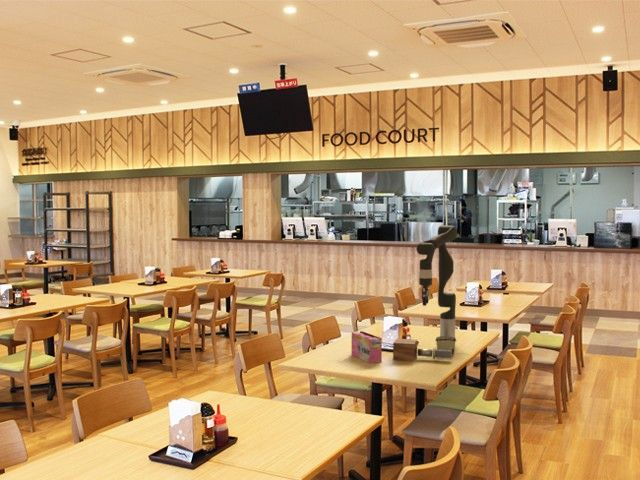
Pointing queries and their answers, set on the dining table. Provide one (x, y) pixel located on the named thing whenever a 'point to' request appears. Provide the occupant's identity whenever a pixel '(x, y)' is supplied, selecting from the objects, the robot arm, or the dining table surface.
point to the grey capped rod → (435, 353)
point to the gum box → (367, 347)
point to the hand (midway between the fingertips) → (425, 304)
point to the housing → (405, 350)
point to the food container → (446, 343)
